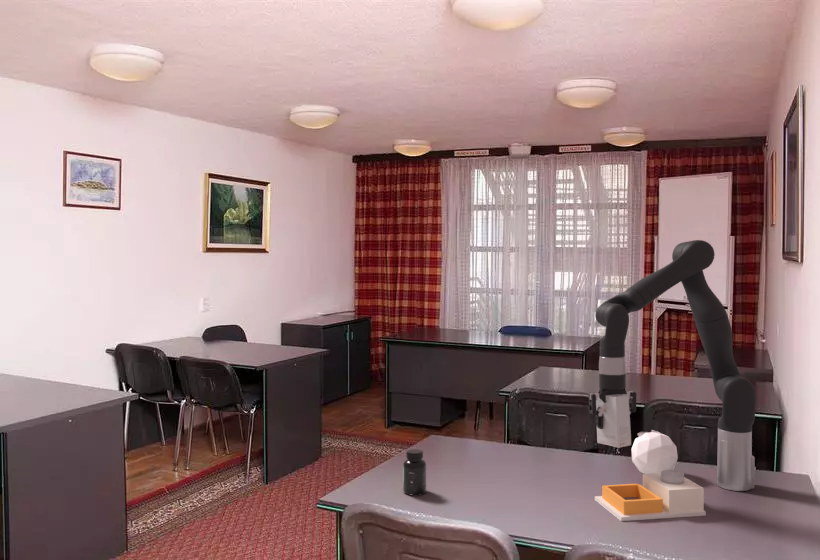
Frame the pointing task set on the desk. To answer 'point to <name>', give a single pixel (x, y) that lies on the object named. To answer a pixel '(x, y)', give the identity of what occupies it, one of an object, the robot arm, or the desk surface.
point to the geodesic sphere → (654, 452)
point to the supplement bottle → (414, 472)
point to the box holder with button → (654, 498)
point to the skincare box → (615, 421)
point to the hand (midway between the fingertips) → (612, 427)
